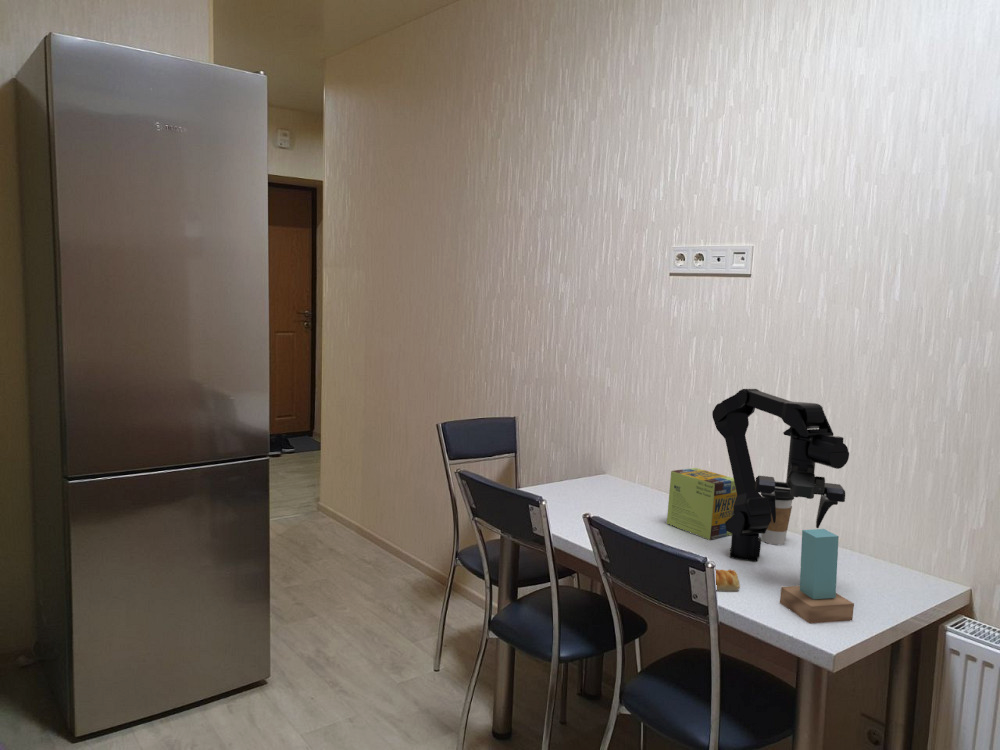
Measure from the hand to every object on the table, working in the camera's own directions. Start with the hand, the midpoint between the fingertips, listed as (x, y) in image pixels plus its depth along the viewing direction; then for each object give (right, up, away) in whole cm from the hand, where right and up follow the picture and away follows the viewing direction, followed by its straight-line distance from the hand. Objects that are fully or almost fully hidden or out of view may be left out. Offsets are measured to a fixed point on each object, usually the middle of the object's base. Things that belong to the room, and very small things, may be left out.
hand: (795, 525), depth 173 cm
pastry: (-19, -13, -5) cm, 23 cm away
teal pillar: (-2, -11, -16) cm, 19 cm away
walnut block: (-2, -15, -16) cm, 22 cm away
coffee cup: (+5, -10, +29) cm, 31 cm away
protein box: (-12, -9, +36) cm, 39 cm away
